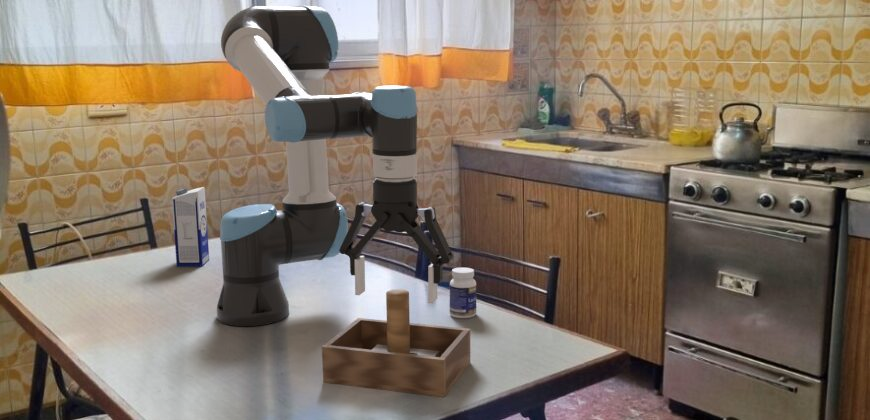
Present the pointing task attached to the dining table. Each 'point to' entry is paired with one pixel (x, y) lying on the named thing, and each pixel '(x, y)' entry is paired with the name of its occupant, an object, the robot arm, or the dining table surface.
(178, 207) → the milk carton
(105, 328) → the dining table surface
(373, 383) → the box
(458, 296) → the pill bottle
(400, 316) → the dowel
